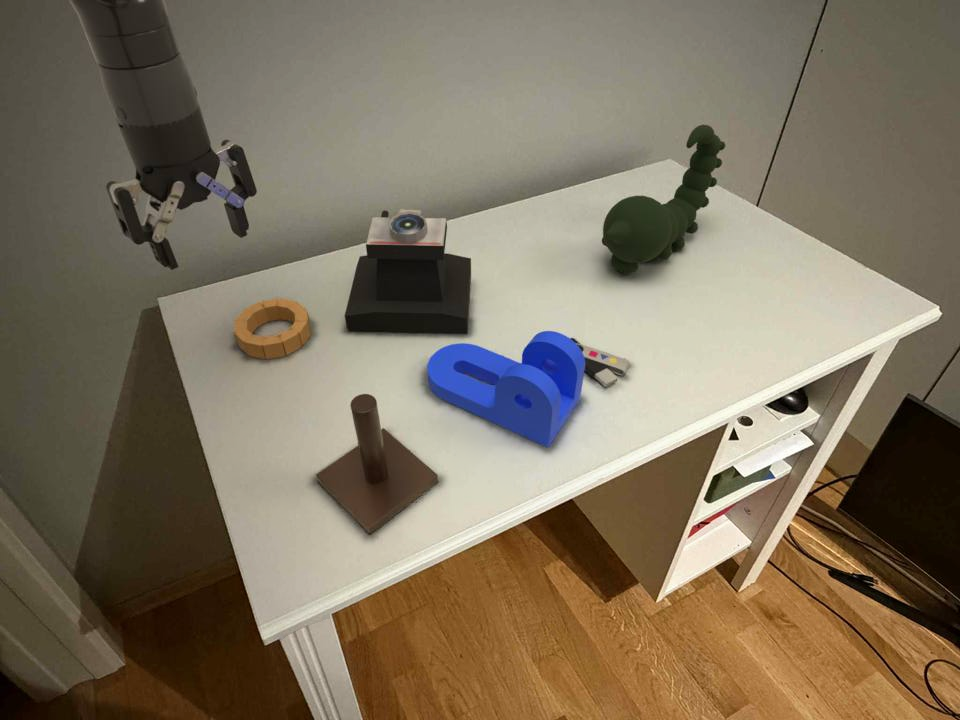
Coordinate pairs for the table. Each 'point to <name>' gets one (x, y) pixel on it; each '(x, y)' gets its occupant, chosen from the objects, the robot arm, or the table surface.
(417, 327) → the camera
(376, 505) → the brown peg stand
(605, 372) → the usb flash drive
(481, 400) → the bracket
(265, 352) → the orange segmented ring
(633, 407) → the table surface
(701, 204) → the toy figurine
